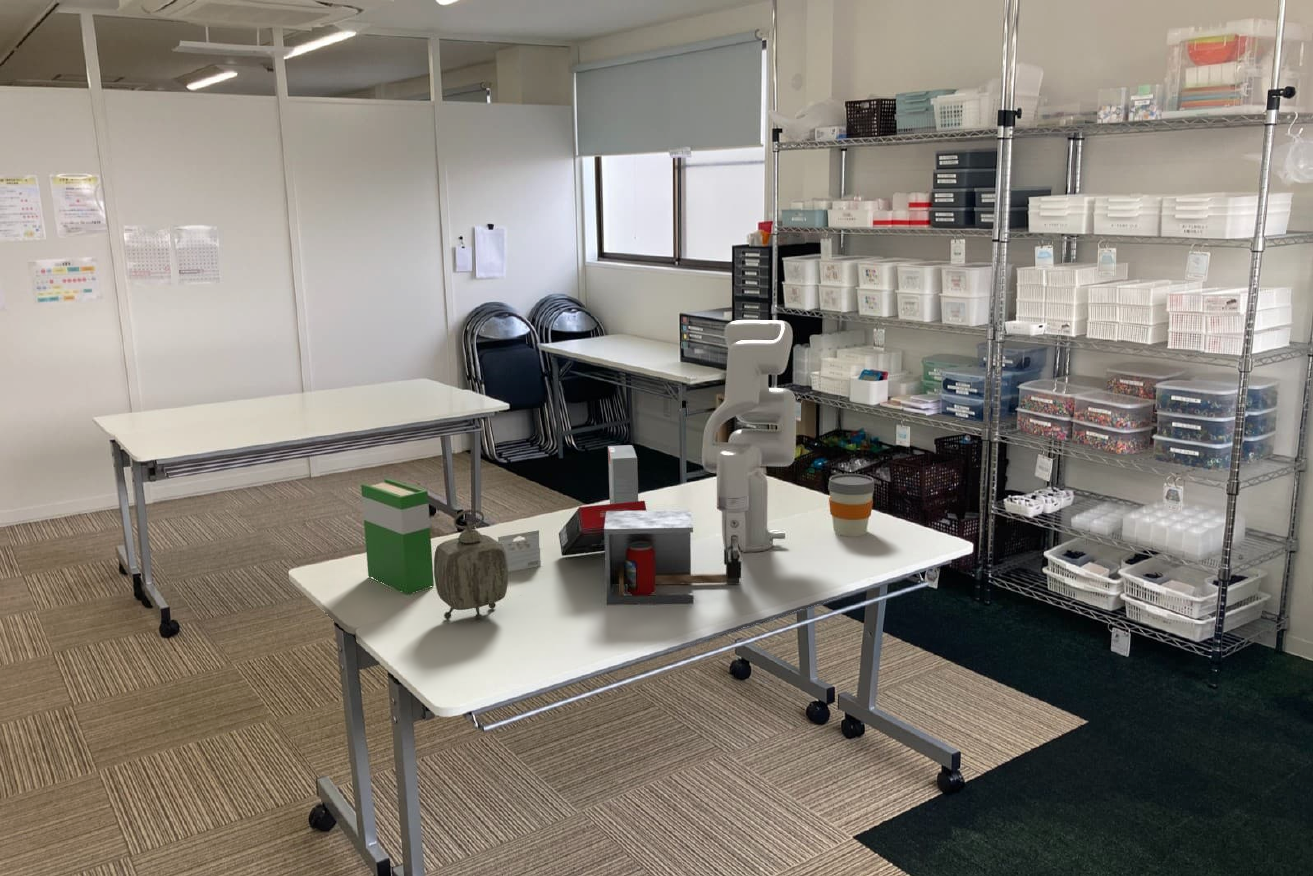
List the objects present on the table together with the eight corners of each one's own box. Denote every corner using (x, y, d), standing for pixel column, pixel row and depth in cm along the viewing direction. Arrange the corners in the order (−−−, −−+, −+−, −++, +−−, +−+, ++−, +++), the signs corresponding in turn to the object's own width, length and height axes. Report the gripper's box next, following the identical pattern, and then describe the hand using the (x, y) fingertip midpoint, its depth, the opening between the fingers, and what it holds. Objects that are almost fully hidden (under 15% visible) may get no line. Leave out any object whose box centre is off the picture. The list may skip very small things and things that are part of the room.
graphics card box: (619, 526, 278) (645, 496, 253) (624, 551, 276) (650, 524, 251) (557, 533, 272) (577, 504, 248) (561, 559, 270) (581, 532, 246)
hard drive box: (609, 510, 312) (607, 445, 307) (634, 509, 312) (633, 444, 308) (613, 525, 297) (611, 457, 292) (639, 524, 297) (638, 456, 293)
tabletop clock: (496, 604, 238) (491, 500, 233) (513, 617, 231) (508, 509, 226) (436, 618, 231) (429, 511, 225) (452, 632, 223) (445, 521, 218)
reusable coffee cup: (838, 540, 280) (839, 486, 277) (820, 526, 292) (821, 475, 289) (880, 536, 283) (882, 483, 280) (861, 523, 295) (863, 472, 292)
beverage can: (626, 589, 247) (624, 541, 244) (654, 587, 248) (653, 539, 245) (627, 599, 240) (626, 550, 238) (656, 598, 241) (655, 548, 238)
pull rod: (738, 580, 250) (738, 548, 248) (742, 597, 239) (742, 564, 238) (620, 582, 250) (619, 550, 248) (619, 599, 239) (618, 566, 237)
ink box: (496, 571, 261) (494, 534, 259) (537, 564, 266) (536, 527, 264) (499, 574, 259) (497, 537, 257) (541, 566, 264) (539, 530, 262)
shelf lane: (690, 581, 251) (690, 509, 247) (693, 603, 237) (692, 527, 233) (608, 583, 251) (606, 511, 247) (606, 605, 237) (604, 529, 233)
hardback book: (368, 577, 258) (360, 484, 252) (394, 569, 263) (387, 478, 258) (407, 595, 246) (400, 497, 240) (433, 586, 251) (427, 491, 245)
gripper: (752, 511, 236) (751, 583, 240) (744, 492, 253) (744, 559, 257) (719, 512, 236) (719, 583, 240) (714, 492, 253) (714, 559, 256)
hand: (732, 571), depth 248 cm, fingers open, 9 cm apart
